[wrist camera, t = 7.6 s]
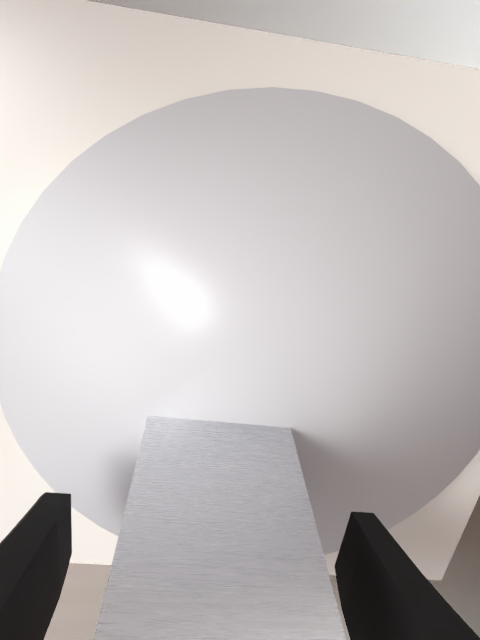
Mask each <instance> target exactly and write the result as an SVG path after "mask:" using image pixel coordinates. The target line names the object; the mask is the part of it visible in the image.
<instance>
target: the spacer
mask: <svg viewBox="0 0 480 640" xmlns="http://www.w3.org/2000/svg"><path fill="white" fill-rule="evenodd" d="M94 640H346V638H345V634H344V630H343V626H342V622H341V619H340V615H339V611H338V607H337V603H336V599H335V596H334V592H333V588H332V584H331V580H330V576H329V573H328V569H327V565H326V561H325V557H324V553H323V550H322V546H321V542H320V538H319V534H318V531H317V527H316V523H315V519H314V515H313V511H312V508H311V504H310V500H309V496H308V492H307V488H306V485H305V481H304V477H303V473H302V469H301V465H300V462H299V458H298V454H297V450H296V446H295V443H294V439H293V435H292V431H291V428H287V427H275V426H263V425H251V424H240V423H228V422H216V421H204V420H192V419H180V418H169V417H157V416H147V420H146V424H145V428H144V433H143V437H142V441H141V445H140V449H139V453H138V457H137V462H136V466H135V470H134V474H133V478H132V482H131V486H130V491H129V495H128V499H127V503H126V507H125V511H124V515H123V520H122V524H121V528H120V532H119V536H118V540H117V545H116V549H115V553H114V557H113V561H112V565H111V569H110V574H109V578H108V582H107V586H106V590H105V594H104V598H103V603H102V607H101V611H100V615H99V619H98V623H97V627H96V632H95V636H94Z"/></svg>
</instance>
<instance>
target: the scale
mask: <svg viewBox="0 0 480 640" xmlns="http://www.w3.org/2000/svg"><path fill="white" fill-rule="evenodd" d="M147 416H157V417H169V418H180V419H192V420H204V421H216V422H228V423H240V424H251V425H263V426H275V427H287V428H291V431H292V435H293V439H294V443H295V446H296V450H297V454H298V458H299V462H300V465H301V469H302V473H303V477H304V481H305V485H306V488H307V492H308V496H309V500H310V504H311V508H312V511H313V515H314V519H315V523H316V527H317V531H318V534H319V538H320V542H321V546H322V550H323V553H324V557H325V561H326V565H327V569H328V573H329V575H336V573H335V567H334V566H335V563H336V559H337V556H338V553H339V550H340V546H341V543H342V540H343V537H344V534H345V530H346V527H347V524H348V521H349V517H350V514H351V511H352V512H368V513H374V514H375V515H376V517H377V518H378V519H379V520H380V521H381V523H382V524H383V525H384V526H385V528H386V529H387V530H388V532H389V533H390V534H391V535H392V537H393V538H394V539H395V540H396V542H397V543H398V544H399V545H400V547H401V548H402V549H403V550H404V552H405V553H406V554H407V555H408V557H409V558H410V559H411V560H412V562H413V563H414V564H415V565H416V566H417V568H418V569H419V570H420V571H421V573H422V574H423V575H424V576H425V577H426V578H427V580H442V578H443V576H444V574H445V571H446V569H447V567H448V565H449V563H450V560H451V558H452V556H453V554H454V551H455V549H456V547H457V545H458V543H459V540H460V538H461V536H462V534H463V531H464V529H465V527H466V525H467V522H468V520H469V518H470V516H471V514H472V511H473V509H474V507H475V505H476V502H477V500H478V498H479V496H480V69H477V68H471V67H465V66H460V65H454V64H448V63H442V62H437V61H431V60H425V59H420V58H414V57H408V56H402V55H397V54H391V53H385V52H380V51H374V50H368V49H363V48H357V47H351V46H345V45H340V44H334V43H328V42H323V41H317V40H311V39H305V38H300V37H294V36H288V35H283V34H277V33H271V32H266V31H260V30H254V29H248V28H243V27H237V26H231V25H226V24H220V23H214V22H208V21H203V20H197V19H191V18H186V17H180V16H174V15H168V14H163V13H157V12H151V11H146V10H140V9H134V8H129V7H123V6H117V5H111V4H106V3H100V2H94V1H89V0H0V543H1V541H2V540H3V539H4V538H5V537H6V536H7V535H8V534H9V533H10V531H11V530H12V529H13V528H14V527H15V526H16V525H17V523H18V522H19V521H20V520H21V519H22V518H23V517H24V515H25V514H26V513H27V512H28V511H29V510H30V508H31V507H32V506H33V505H34V504H35V502H36V501H37V500H38V499H39V497H40V496H41V495H43V494H44V493H45V492H50V493H66V494H71V527H72V555H71V558H70V562H69V563H82V564H103V565H112V561H113V557H114V553H115V549H116V545H117V540H118V536H119V532H120V528H121V524H122V520H123V515H124V511H125V507H126V503H127V499H128V495H129V491H130V486H131V482H132V478H133V474H134V470H135V466H136V462H137V457H138V453H139V449H140V445H141V441H142V437H143V433H144V428H145V424H146V420H147Z"/></svg>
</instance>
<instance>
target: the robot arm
mask: <svg viewBox="0 0 480 640" xmlns="http://www.w3.org/2000/svg"><path fill="white" fill-rule="evenodd" d="M71 555H72V527H71V494H66V493H50V492H45V493H44V494H43V495H41V496H40V497H39V499H38V500H37V501H36V502H35V504H34V505H33V506H32V507H31V508H30V510H29V511H28V512H27V513H26V514H25V515H24V517H23V518H22V519H21V520H20V521H19V522H18V523H17V525H16V526H15V527H14V528H13V529H12V530H11V531H10V533H9V534H8V535H7V536H6V537H5V538H4V539H3V540H2V541H1V543H0V640H43V639H44V637H45V634H46V632H47V629H48V626H49V624H50V621H51V619H52V616H53V613H54V611H55V608H56V606H57V603H58V600H59V597H60V594H61V590H62V587H63V584H64V580H65V577H66V573H67V569H68V566H69V562H70V558H71ZM334 567H335V573H336V579H337V585H338V591H339V596H340V601H341V607H342V611H343V615H344V618H345V622H346V625H347V629H348V632H349V636H350V639H351V640H480V638H479V637H478V636H477V635H476V634H475V632H474V631H473V630H472V629H471V628H470V627H469V626H468V625H467V624H466V623H465V622H464V620H463V619H462V618H461V617H460V616H459V615H458V614H457V613H456V612H455V611H454V610H453V609H452V607H451V606H450V605H449V604H448V603H447V602H446V601H445V599H444V598H443V597H442V596H441V595H440V594H439V593H438V591H437V590H436V589H435V588H434V587H433V586H432V584H431V583H430V582H429V581H428V580H427V578H426V577H425V576H424V575H423V574H422V573H421V571H420V570H419V569H418V568H417V566H416V565H415V564H414V563H413V562H412V560H411V559H410V558H409V557H408V555H407V554H406V553H405V552H404V550H403V549H402V548H401V547H400V545H399V544H398V543H397V542H396V540H395V539H394V538H393V537H392V535H391V534H390V533H389V532H388V530H387V529H386V528H385V526H384V525H383V524H382V523H381V521H380V520H379V519H378V518H377V517H376V515H375V514H374V513H368V512H352V511H351V514H350V517H349V521H348V524H347V527H346V530H345V534H344V537H343V540H342V543H341V546H340V550H339V553H338V556H337V559H336V563H335V566H334Z"/></svg>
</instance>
